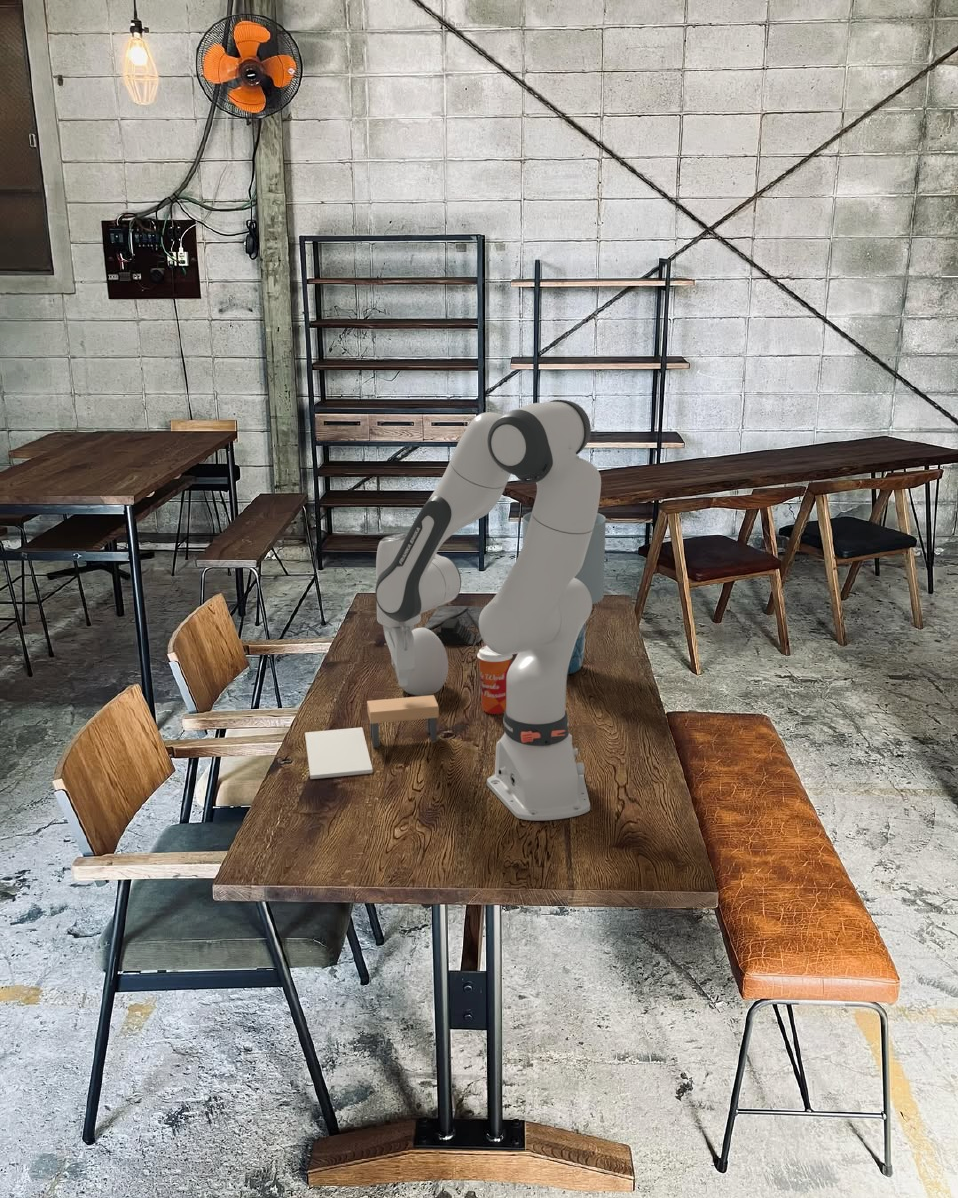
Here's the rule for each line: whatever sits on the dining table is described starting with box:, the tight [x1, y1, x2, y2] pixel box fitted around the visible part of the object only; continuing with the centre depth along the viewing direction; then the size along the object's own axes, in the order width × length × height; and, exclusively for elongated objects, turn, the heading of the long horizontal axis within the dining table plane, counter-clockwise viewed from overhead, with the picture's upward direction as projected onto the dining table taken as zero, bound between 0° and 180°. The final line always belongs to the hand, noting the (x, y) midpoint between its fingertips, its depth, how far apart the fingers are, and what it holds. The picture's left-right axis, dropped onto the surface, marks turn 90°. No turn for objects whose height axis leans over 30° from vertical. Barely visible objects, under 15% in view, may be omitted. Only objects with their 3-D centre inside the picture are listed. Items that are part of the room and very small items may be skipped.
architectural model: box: [423, 605, 485, 647], centre depth 288 cm, size 17×6×30 cm
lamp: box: [522, 511, 607, 675], centre depth 252 cm, size 19×19×38 cm
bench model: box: [366, 694, 440, 749], centre depth 219 cm, size 14×6×8 cm, turn 102°
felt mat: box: [304, 726, 374, 780], centre depth 214 cm, size 20×12×1 cm, turn 12°
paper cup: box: [476, 645, 513, 715], centre depth 233 cm, size 8×8×14 cm
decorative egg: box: [395, 627, 449, 697], centre depth 244 cm, size 12×12×15 cm
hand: (399, 675), depth 217 cm, fingers open, 8 cm apart
